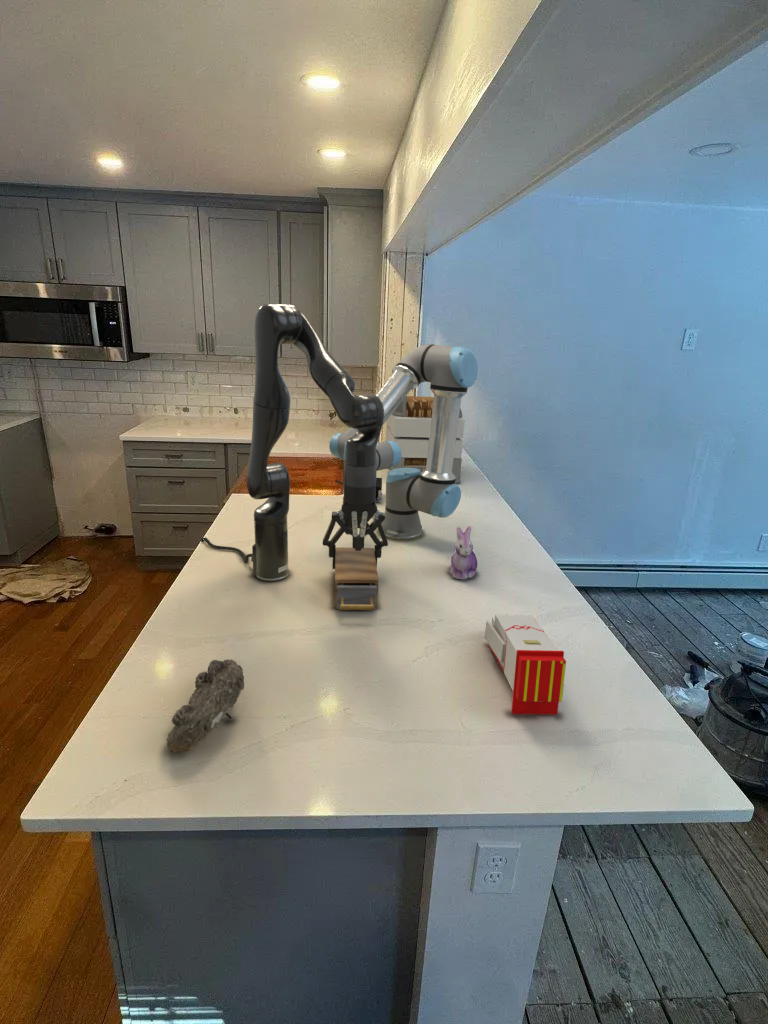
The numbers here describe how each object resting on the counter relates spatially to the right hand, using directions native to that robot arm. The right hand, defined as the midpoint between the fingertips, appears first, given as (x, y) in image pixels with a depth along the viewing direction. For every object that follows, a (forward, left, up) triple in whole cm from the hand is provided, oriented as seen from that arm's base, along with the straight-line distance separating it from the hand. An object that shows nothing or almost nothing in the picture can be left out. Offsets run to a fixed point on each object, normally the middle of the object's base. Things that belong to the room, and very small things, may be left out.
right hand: (354, 567), depth 165 cm
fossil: (+31, -58, -4) cm, 66 cm away
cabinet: (+6, -4, -4) cm, 8 cm away
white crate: (-71, +95, -4) cm, 119 cm away
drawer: (+10, -7, -3) cm, 13 cm away
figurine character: (-53, +52, -4) cm, 74 cm away
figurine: (+17, +29, -4) cm, 33 cm away
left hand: (+18, -13, +15) cm, 27 cm away
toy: (+58, +1, -4) cm, 58 cm away
